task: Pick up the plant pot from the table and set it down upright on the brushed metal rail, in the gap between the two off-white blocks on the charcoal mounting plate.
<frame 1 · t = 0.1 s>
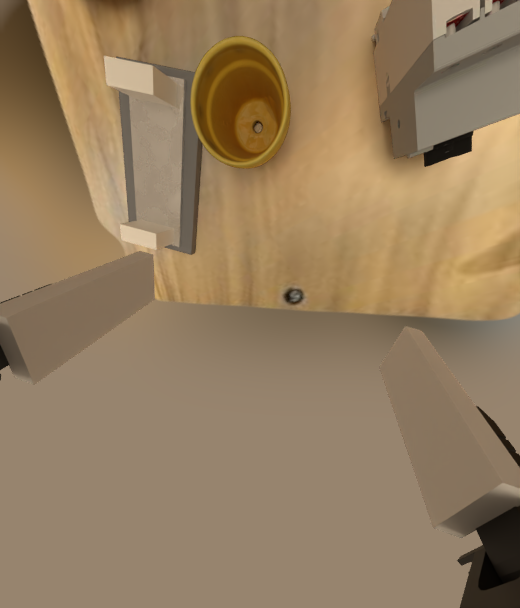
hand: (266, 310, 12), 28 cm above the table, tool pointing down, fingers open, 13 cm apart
mounted modules: (146, 169, 33), on the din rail, point 5 cm above the table
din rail: (158, 170, 35), on the mounting plate, point 1 cm above the table
circuit breaker: (414, 98, 27), on the table
mounting plate: (164, 171, 37), on the table
plant pot: (258, 128, 32), on the table
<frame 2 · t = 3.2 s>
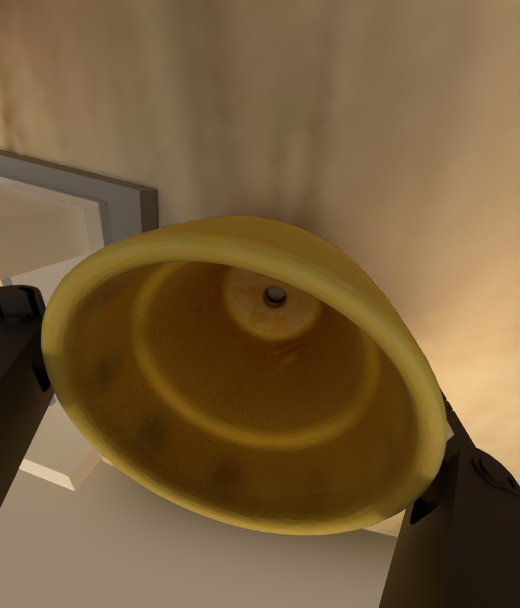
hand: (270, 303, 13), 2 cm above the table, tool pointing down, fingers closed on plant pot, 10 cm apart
mounted modules: (39, 363, 16), on the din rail, point 5 cm above the table
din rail: (76, 339, 18), on the mounting plate, point 1 cm above the table
mounting plate: (95, 327, 20), on the table
plant pot: (275, 288, 15), on the table, touching gripper
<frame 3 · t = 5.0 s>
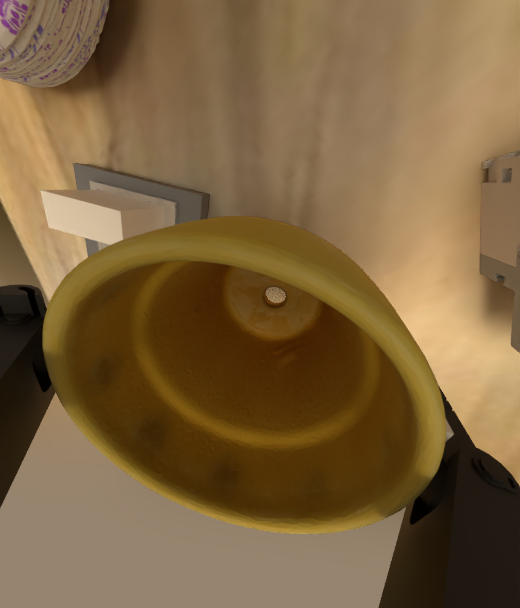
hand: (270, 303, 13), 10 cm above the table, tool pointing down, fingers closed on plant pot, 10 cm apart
mounted modules: (120, 314, 22), on the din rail, point 5 cm above the table
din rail: (139, 302, 25), on the mounting plate, point 1 cm above the table
mounting plate: (150, 295, 27), on the table
plant pot: (276, 288, 15), point 8 cm above the table, touching gripper
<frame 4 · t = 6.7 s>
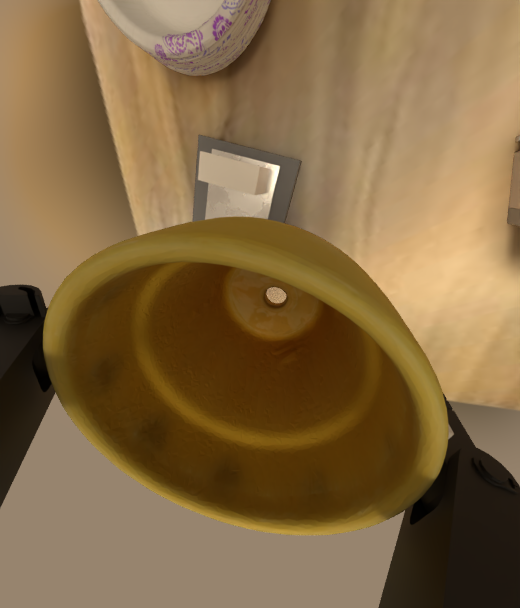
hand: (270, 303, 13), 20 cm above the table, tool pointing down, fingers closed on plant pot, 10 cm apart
mounted modules: (223, 256, 29), on the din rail, point 5 cm above the table
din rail: (230, 250, 31), on the mounting plate, point 2 cm above the table
mounting plate: (235, 247, 33), on the table
plant pot: (276, 288, 15), point 18 cm above the table, touching gripper
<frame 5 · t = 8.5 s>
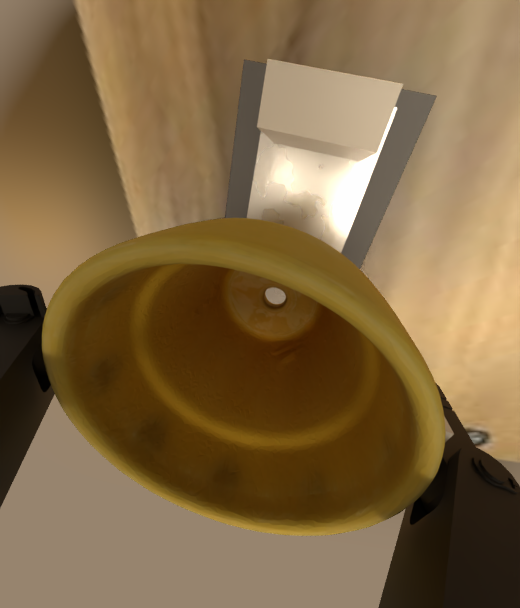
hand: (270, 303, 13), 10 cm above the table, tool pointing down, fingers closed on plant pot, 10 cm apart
mounted modules: (282, 272, 17), on the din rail, point 5 cm above the table
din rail: (286, 261, 20), on the mounting plate, point 2 cm above the table
mounting plate: (288, 255, 21), on the table
plant pot: (275, 289, 15), point 8 cm above the table, touching gripper
when the fingers open (5 cm above the table, at t = 10.1 s): plant pot drops 1 cm, resting on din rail.
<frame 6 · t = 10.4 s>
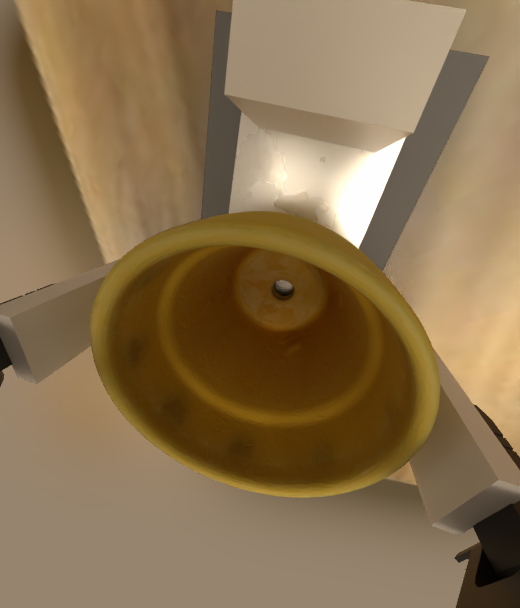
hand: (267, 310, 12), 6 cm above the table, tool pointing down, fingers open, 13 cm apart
mounted modules: (271, 299, 13), on the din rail, point 5 cm above the table
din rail: (278, 281, 16), on the mounting plate, point 1 cm above the table
mounting plate: (282, 272, 17), on the table
plant pot: (283, 282, 16), point 2 cm above the table, touching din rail
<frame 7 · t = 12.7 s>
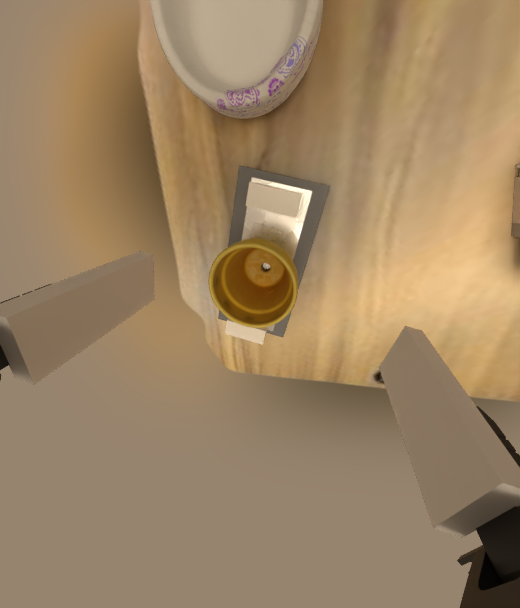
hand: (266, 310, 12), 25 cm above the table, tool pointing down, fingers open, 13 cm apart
mounted modules: (260, 270, 32), on the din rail, point 5 cm above the table
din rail: (264, 264, 35), on the mounting plate, point 2 cm above the table
paper bowls: (252, 43, 26), on the table
mounting plate: (266, 261, 36), on the table
plant pot: (266, 264, 35), point 2 cm above the table, touching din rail
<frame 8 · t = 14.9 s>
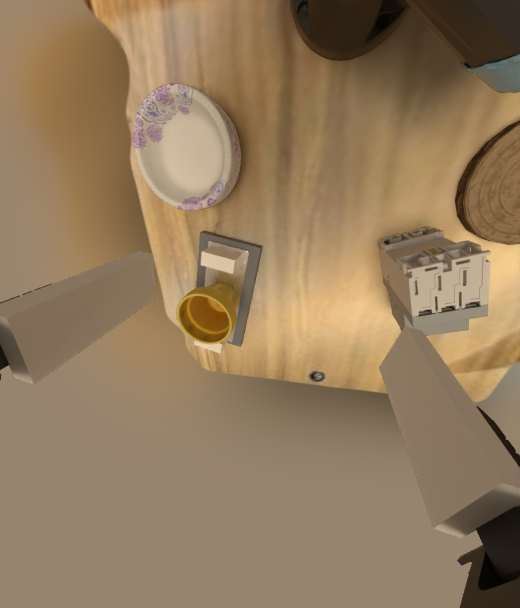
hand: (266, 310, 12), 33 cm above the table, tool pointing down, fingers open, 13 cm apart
mounted modules: (217, 302, 46), on the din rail, point 5 cm above the table
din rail: (222, 296, 49), on the mounting plate, point 1 cm above the table
circuit breaker: (406, 272, 41), on the table
paper bowls: (204, 158, 39), on the table
mounting plate: (225, 292, 50), on the table
plant pot: (223, 296, 49), point 2 cm above the table, touching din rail
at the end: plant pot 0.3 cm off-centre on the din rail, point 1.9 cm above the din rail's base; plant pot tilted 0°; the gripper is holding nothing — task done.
